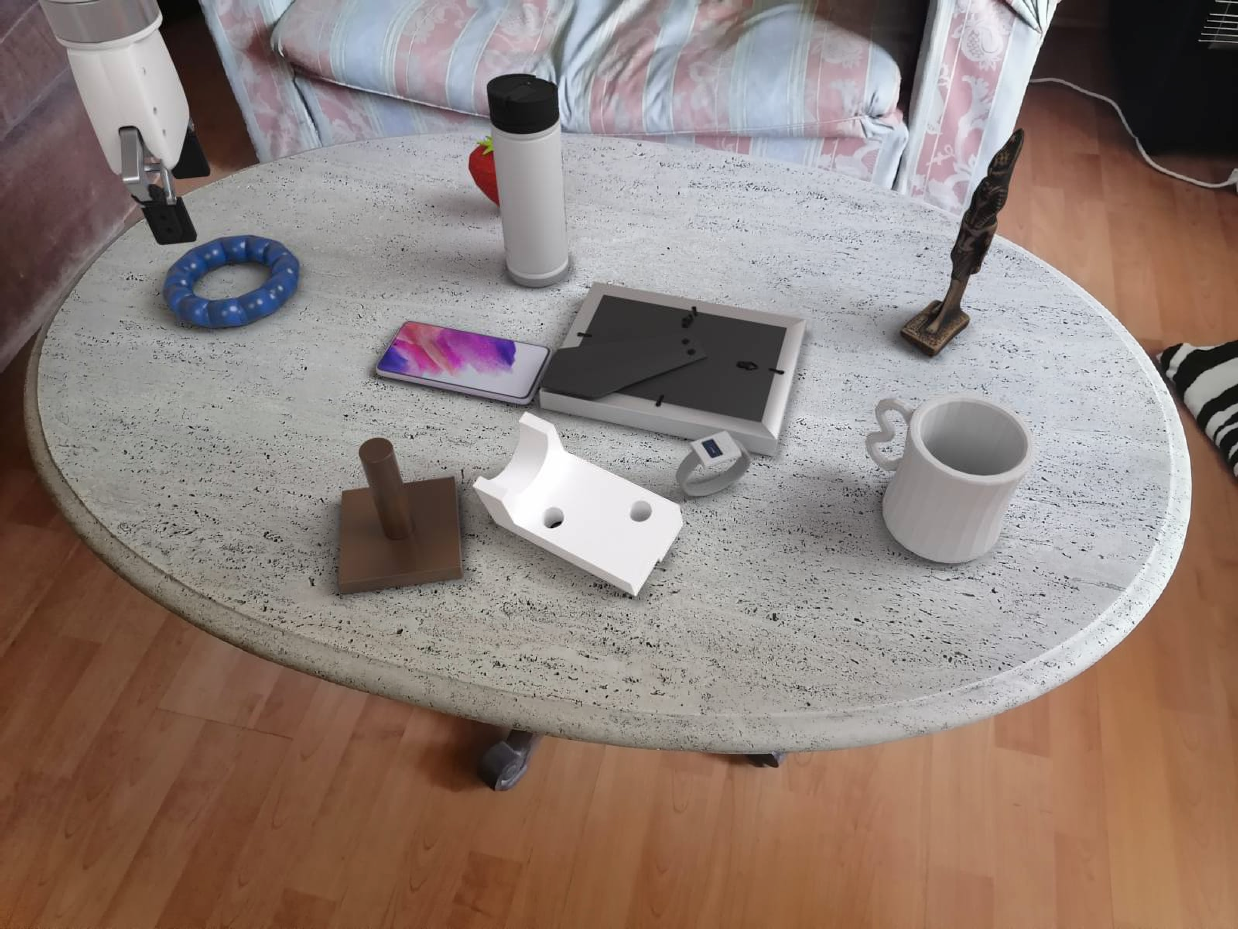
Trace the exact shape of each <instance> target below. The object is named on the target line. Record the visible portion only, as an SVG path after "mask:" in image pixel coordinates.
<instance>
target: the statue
mask: <svg viewBox="0 0 1238 929" xmlns="http://www.w3.org/2000/svg"><path fill="white" fill-rule="evenodd" d="M1025 134H1026V133H1025V130H1024V129H1023V127H1018V128H1017V129H1016V130H1015V131H1014V132H1013V133H1012V134H1011V135H1010V137H1008V139H1007V140H1006V142H1005V143H1004V144H1003V146H1002V147H1001V148H1000V149H999V150H997V152H996V153H995V154H993V157H992V158H991V159H990V162H989V163H988V166H987V169H986V176H984V177H983V178H982V179H981V180H980V182H979V183H978V185H977V186H976V187H975V190H974V191H973V192H972V195H971V199H970V204H969V207H968V208H967V209H966V210H965V211H964V213H963V215H962V218H961V221H960V227H959V230H958V233H957V236H956V239H955V243H954V245H953V247H952V248H951V251H950V254H949V258H950V261H951V264H952V269H951V273H950V281H949V287H948V289H947V291H946V294H945V295H944V296H945V297H944V298H943V300H939V299H934V300H932V301H931V302H930V303H928V305H927V306H926V307H924V308H923V309H922V310H921V311H920V312H919V313H918V314H916V315H915V316H914V317H913V318H911V319H910V320H908V321H907V322H906V323H905V324H903V325H902V326H901V328H900V330H899V335H900V337H901V338H903V339H904V340H905V341H906V342H908V343H909V344H910V345H911V346H913V347H915V348H916V349H918V350H919V351H921V352H923V353H925V354H926V355H929V356H931V357H936V356H938V355H939V354H940V353H941V352H942V351H943V349H944V348H945V347H946V346H947V345H948V344H949V343H951V342H952V340H954V339H955V337H957V336H958V335H959V334H960V333H962V332H963V331H964V330H965V329H966V328H967V327H968V325H969V324H970V321H971V318H970V315H969V314H968V313H966V312H965V311H963V309H962V307H961V302H962V300H963V296H964V294H965V291H966V290H967V286H968V284H969V280H970V277H971V276H972V275H977V274H978V273H980V271H981V269H982V264H983V261H984V259H985V257H986V256H987V254H988V251H989V250H990V247H991V245H992V242H993V239H994V236H995V234H996V231H997V229H998V226H999V222H998V217H997V216H998V214H999V213H1000V212H1001V211H1002V210H1003V209H1004V207H1005V205H1006V203H1007V201H1008V195H1009V190H1010V188H1009V187H1010V182H1011V179H1012V176H1013V173H1014V169H1015V166H1016V163H1017V161H1018V159H1019V157H1020V155H1021V153H1022V149H1023V146H1024V143H1025Z"/></svg>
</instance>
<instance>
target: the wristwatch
mask: <svg viewBox="0 0 1238 929" xmlns="http://www.w3.org/2000/svg"><path fill="white" fill-rule="evenodd" d="M689 448H690V451H691V452H689V453H688V454H687V455H686V456H685V458H683V460H682V461H681V462H680V464H679V465H678V468H677V469H676V472H675V480H676V482H677V485H679V487H680V489H681V490H682V491H683V492H684V493H685V494H687V495H689V496H693V497H705V496H710V495H713V494H717V493H719V492H721V491H723V490H724V489H726V488H728V487H730V486H731V485H733V484H735V483H736V482H737V481H738V480H740V479H741V478H742V477H743V476H744V475H746V473H747V471H748V470H749V468H750V466H751V463H752V458H751V454H750V452H749V451H747V450H746V449H745V447H744V446H743V445H742V443H741V442H739V441H738V440H736V439H734V438H731V437H730V435H729V434H728V433H727V431H723V432H720V433H717V434H714V435H711V436H708V437H705V438H702V439H699V440H692V441H690V442H689ZM736 459H737V460H736ZM733 460H736V462H735V463H734V464H733V465H732V466H730V468H729V469H727V470H726V471H724V472H722V473H721V474H720V475H719V474H718V475H717V476H716V477H714V478H711V479H709V480H707V481H703V482H697V483H689V482H687V480H688V479H689V476H690V475H691V473H692V472H693V471H694V470H695V469H696V468H697V467H698V465H701V467H702V469H703V470H708V469H710V468H713V467H716V466H719V465H722V464H725V463H727V462H730V461H733Z"/></svg>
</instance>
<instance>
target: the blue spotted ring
mask: <svg viewBox="0 0 1238 929" xmlns="http://www.w3.org/2000/svg"><path fill="white" fill-rule="evenodd" d="M241 262H243V263H244V262H254V263H258V264H263V265H266V266H267V267H268V268H269V269H270V270H271V271H270V276H269V277H268V278H267V279H266V280H265V281H264V282H263V283H262V284H261V285H260V286H259V287H258V288H255V289H253V290H251V291H249V292H247V293H244V294H242V295H239V296H237V297H230V298H221V299H220V298H219V299H209V298H206V297H201V296H197V295H196V294H195V292H194V289H195V288H194V287H195V284H196V283H197V282H198V281H199V280H200V279H202V277H203V276H205V274H207V273H208V272H211V271H213V270H216V269H218V268H220V267H222V266H225V265H227V264H233V263H234V264H235V263H241ZM300 268H301V266H300V262H299V260H298V258H297V257H296V256H295V255H294V254H293V253H292V252H291V250H289V248H288V247H286V246H285V245H284V244H283V243H282V242H281V241H279V240H275V239H271V238H268V237H263V236H259V235H255V234H242V235H232V236H231V235H230V236H221V237H217V238H215V239H212V240H210V241H207V242H205V243H201V244H200V245H196V246H195V247H192V248H190V249H188V250H187V251H186V252H185V253H184V254H183V255H182V256H181V257H180V258H178V259H177V260H176V261H175V262H173V264H172V265H170V267H169V268H168V269H167V271H166V275H165V279H164V283H163V286H162V292H161V293H162V299H163V300H164V302H165V303H166V305H167V306H168V307H169V308H170V310H171V311H172V312H173V313H174V314H175V315H176V317H177V318H178V319H179V320H181V321H183V322H186V323H190V324H194V325H198V326H201V327H205V328H208V329H219V328H228V327H238V326H244V325H245V326H246V325H249V324H251V323H253V322H255V321H257V320H258V321H259V320H260V319H262V318H264V317H266V316H269V315H271V314H273V313H275V312H277V311H278V310H279V309H280V308H282V306H284V304H285V303H286V302H287V301H288V300H289V299H290V298H291V297H292V296H293V295H294V293H296V291H297V290H298V287H299V278H300Z"/></svg>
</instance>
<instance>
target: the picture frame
mask: <svg viewBox="0 0 1238 929" xmlns="http://www.w3.org/2000/svg"><path fill="white" fill-rule="evenodd" d="M807 322H808V320H807V319H805V318H800V317H795V316H789V315H784V314H779V313H778V314H777V313H772V312H766V311H760V310H755V309H749V308H744V307H739V306H733V305H727V304H722V303H716V302H711V301H705V300H699V299H694V298H690V297H689V298H688V297H682V296H677V295H673V294H666V293H660V292H655V291H650V290H644V289H640V288H639V289H638V288H633V287H627V286H621V285H616V284H610V283H605V282H600V281H593V282H592V284H591V286H590V288H589V290H588V292H587V294H586V297H584V300H583V302H582V304H581V306H580V308H579V310H578V312H577V314H576V316H575V319H574V320H573V322H572V324H571V327H570V329H569V331H568V332H567V335H566V336H565V338H564V340H563V343H562V344H561V347H560V348H557V349H556V351H555V353H554V354H553V356H552V358H551V360H550V362H549V365H548V367H547V369H546V371H545V373H544V375H543V377H542V379H541V381H540V383H539V386H538V388H540V389H539V391H538V394H539V403H540V409H544V410H549V411H554V412H558V413H563V414H568V415H571V416H572V415H573V416H577V417H581V418H587V419H591V420H592V419H593V420H597V421H602V422H607V423H611V424H617V425H621V426H624V427H631V428H635V429H639V430H645V431H650V432H653V433H659V434H664V435H669V436H673V437H679V438H683V439H688V440H692V441H696V440H699V439H702V438H705V437H708V436H711V435H714V434H717V433H720V432H723V431H727V433H728V434H729V435H730V437H731V438H734V439H736V440H738V441H739V442H741V443H742V445H743V446H744V447H745V449H746V450H747V452H749V453H750V452H751V453H753V454H754V453H755V454H760V455H764V456H770V457H775V453H776V451H777V445H778V441H779V439H780V438H779V437H780V434H781V430H782V426H783V422H784V418H785V414H786V409H787V406H788V402H789V398H790V394H791V390H792V387H793V382H794V378H795V375H796V374H795V373H796V369H797V366H798V362H799V358H800V354H801V350H802V346H803V342H804V338H805V334H806V328H807Z"/></svg>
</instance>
